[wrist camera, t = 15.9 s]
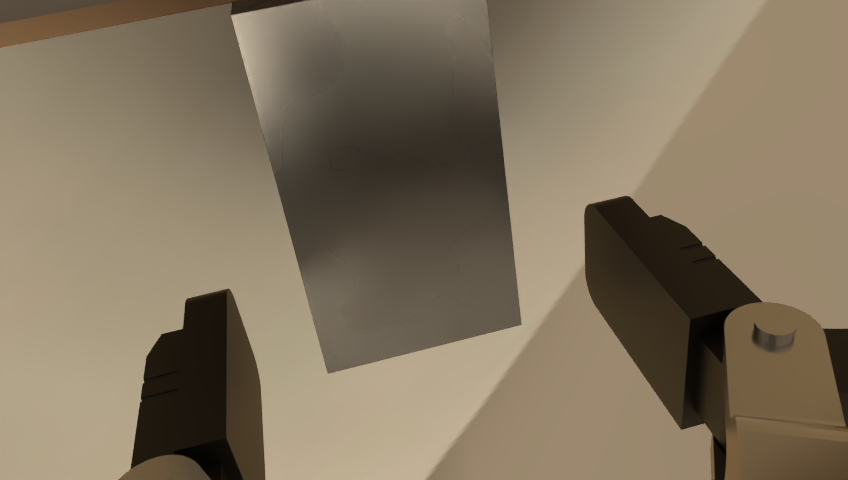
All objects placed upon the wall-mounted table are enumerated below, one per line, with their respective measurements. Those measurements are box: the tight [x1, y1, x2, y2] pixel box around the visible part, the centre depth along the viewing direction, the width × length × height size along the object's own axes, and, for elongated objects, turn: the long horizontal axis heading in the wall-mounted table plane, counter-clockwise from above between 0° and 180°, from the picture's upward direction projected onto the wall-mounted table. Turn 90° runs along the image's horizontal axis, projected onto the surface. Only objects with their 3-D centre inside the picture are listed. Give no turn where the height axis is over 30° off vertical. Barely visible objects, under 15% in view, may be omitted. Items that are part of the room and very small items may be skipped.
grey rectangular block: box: [231, 0, 521, 374], centre depth 14 cm, size 7×4×1 cm, turn 7°
